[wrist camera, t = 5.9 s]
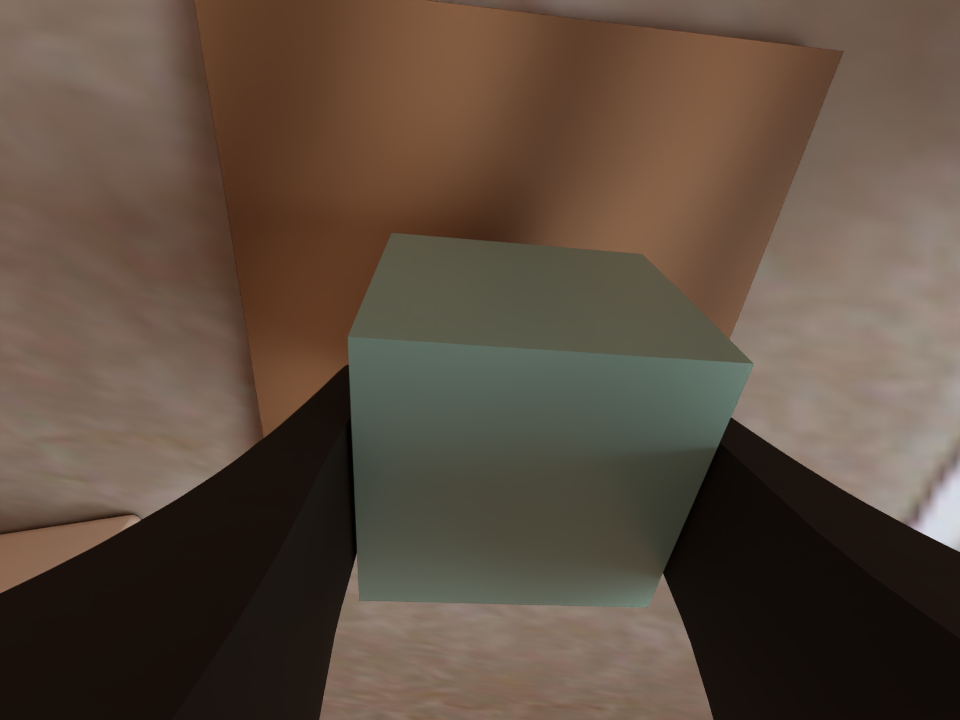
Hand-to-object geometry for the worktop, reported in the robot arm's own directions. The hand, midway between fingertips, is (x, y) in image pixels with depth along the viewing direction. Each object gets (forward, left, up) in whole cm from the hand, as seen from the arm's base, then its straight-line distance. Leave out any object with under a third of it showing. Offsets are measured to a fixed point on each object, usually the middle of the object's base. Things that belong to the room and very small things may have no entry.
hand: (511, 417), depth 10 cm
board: (0, 0, -6) cm, 6 cm away
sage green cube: (0, 0, -2) cm, 2 cm away
